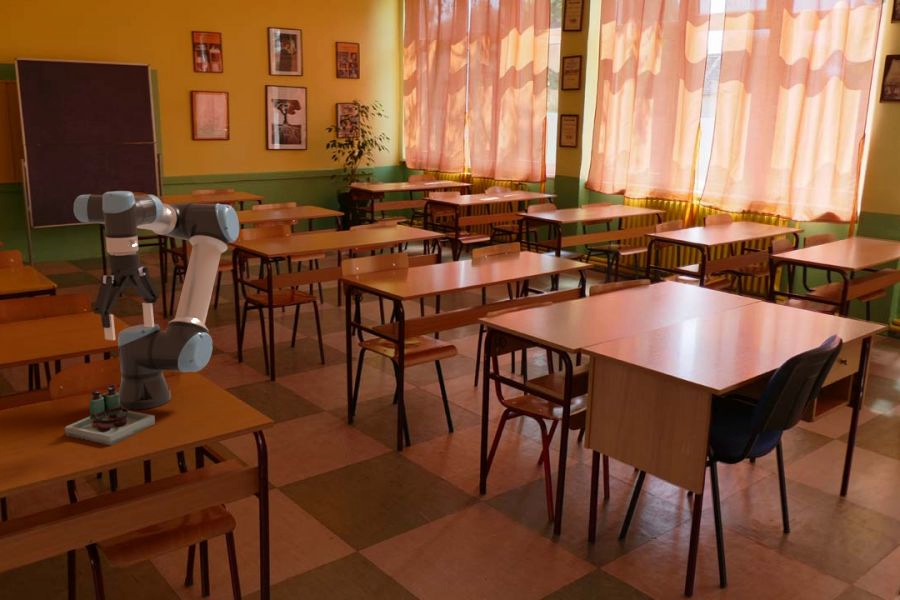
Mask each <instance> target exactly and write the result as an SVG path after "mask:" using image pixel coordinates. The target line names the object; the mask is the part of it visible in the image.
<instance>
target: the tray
mask: <svg viewBox="0 0 900 600" xmlns="http://www.w3.org/2000/svg"><path fill="white" fill-rule="evenodd" d="M121 411H122V410H121ZM122 412H123V411H122ZM122 412H120V413H119V414H117V416H118V417H119V416H124V415H126V413H127V412H123V413H122ZM155 416H156V415H153V414H148V413H144V412H138V411H133V410H128V416H127V417H126V421H127V423H126V425H124V426H122V427H116V426H115V425H114V423H111V429H110V430H109V431H100V430H98V427H97V426H96V427H93V426H92V422H93V420H91V419H90V416H87V417H85V418H82V419H80V420H78V421H76V422H73V423H70V424H68V425H66V426H65V427H64V432H65V436H66V435H67V436H66V437H69V436H71V437H70V438H74V437H76V438H75V439H78V438H81V439H80V440H83V439H85V440H84V441H88V440H89V441H88V442H93V443H98V444H103V445H107V446H113V445H115V444H117V443H119V442H122V441H123V440H125V439H127V438H130V437H132V436H134V435H135V434H137V433H139V432H142V431H143V430H145V429H146V430H147V428H150V427H152V426H154V425H156V418H155ZM108 417H109V416H108V415H106V414H105V417H104V418H102V419H101V420H108Z"/></svg>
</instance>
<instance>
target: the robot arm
mask: <svg viewBox="0 0 900 600" xmlns="http://www.w3.org/2000/svg"><path fill="white" fill-rule="evenodd" d="M73 214H74V216H75V218H76V219H77V221H79V222H80V223H81V222H82V223H88V224H102V225H103V224H104V230H105V243H106V246H105V247H106V252H107V253H108V254H107V267H108V268H109V269H110V275H103V274H102V275H101V276H100V287H99V290H98V293H97V297H96V301H95V303H94V304H95V305H94V308H93V314H94V315H99V316H100V317H101V318H100V319H101V327H102V328H103V331H104V340H107V341H115V340H116V330H115V321H114V320H115V318H114V314H112V312H113V309H114V307H115V305H116V303H117V302H118V301H117V300H118V299H119V297H120V294H121V293H123V292H124V290H128V289H134V290H135V292H136V293H137V294H138V295H139V296H140V297H141V299H142V300H143V301H144V302H142V315H143V316H142V317H143V324H142V323H141V324H138V325H133V326H129V327H126V328H124V329H122V330H121V331H119V333H118V334H117V343H118V344H117V347H118V355H119V356H118V357H119V365H120V367H119V368H120V375H121V376H120V377H121V379H120V383H119V388H118V392H117V393H118V394H119V399H120V406H121V408H122V406H123V408H127V410H143V409H144V410H145V409H151V408H155V407H159V406H162V405H164V404H167V403H168V402H169V401H170V400H171V399H172V395H171V394H172V393H171V389H170V387H169V385H168V383H167V381H166V377H165V375H164V373H163V372H164V371H174V372H182V373H189V372H193V373H195V372H196V373H197V372H200V371H201V370H202V369H204V368H205V367H206V366H207V364H208V363H209V361H210V359H211V356H212V353H213V339H212V336H211V335H210V334H209V329H208V328H207V325H206V320H207V315H208V312H209V307H210V302H211V299H212V293H213V292H214V291H213V289H214V286H215V281H216V277H217V273H218V270H219V263H220V262H221V261H220V260H221V256H222V254H223V253H225V252H226V251H227V250H228V248H229V244H230V243H234V242H236V241H237V240H238V238H239V234H240V224H239V223H240V222H239V217H238V214H237V212H236V210H235V209H234V207H232V206H231V205H229V204H221V203H193V202H183V203H182V202H181V203H163V202H162V200H160V198H159V197H157V196H156V195H153V194H142V195H134V193H133V192H132V191H130V190H129V191H128V190H115V191H106V192H104V193H103V194H91V193H89V194H81V195H78V196H76V199H75V200H74V202H73ZM138 229H141V230H150V231H152V232H153V233H155V234H157V235H160V236H167V237H171V238H176V239H180V240H186V241H189V243H190V245H191V246H192V249H191V253H190V257H189V261H188V264H187V265H188V266H187V270H186V273H185V277H184V282H183V285H182V289H181V293H180V297H179V301H178V305H177V310H176V313H175V316H174V318H173V319H172V320H170V321H168V324H167V327H166V330H160V329H161V327H160V325H159V324H157V323H155V321H154V318H155V317H154V313H155V305H154V304H155V303H157V301H158V299H160V294H159V292H158V290H157V288H156V286H155V284H154V283H153V282H154V281H153V280H152V279H151V276H150V274H149V268H148V267H146V266H141V261H140V253H139V252H138V251H139V239H138Z"/></svg>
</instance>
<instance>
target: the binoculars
mask: <svg viewBox="0 0 900 600" xmlns="http://www.w3.org/2000/svg"><path fill="white" fill-rule="evenodd" d="M116 387H117V386H116V385H115V384H111V385H109V386H107V391H108V392H106V393H102V395H101V391H100V390H96V389H95V390H94V389H93V390H91V394H92V397H91V398H90V400H89V413H88V415H89V416H90V419H91V420H93V422H92V426H93V427H96V426H97V427H98V430H100V431H109V430H110V429H111V423H114V425H115V426H116V427H122V426H124V425H126V423H127V421H126V417H127V416H128V411H129V409H127V408H123V406H122V407H121V406H120V399H119V394H118V393H119V392H117V391H116V390H117V388H116ZM121 410H122V411H123V412H127V413H126V415H124V416H119V417H118V416H117V414H119V413H120V412H122V411H121ZM123 412H122V413H123ZM105 414H106V415H108V416H109V417H108V420H101V419H102V418H104V417H105ZM89 416H88V417H89Z"/></svg>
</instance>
